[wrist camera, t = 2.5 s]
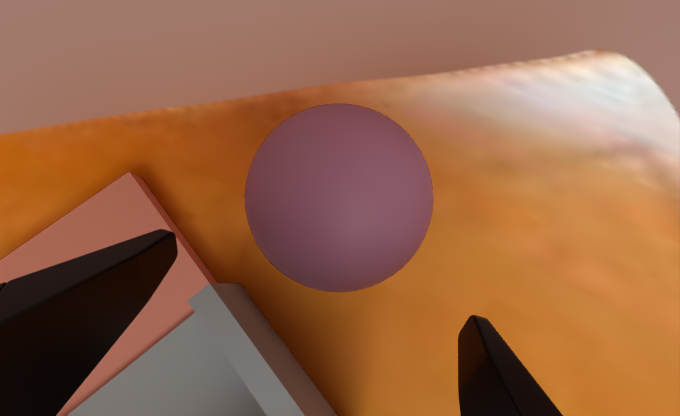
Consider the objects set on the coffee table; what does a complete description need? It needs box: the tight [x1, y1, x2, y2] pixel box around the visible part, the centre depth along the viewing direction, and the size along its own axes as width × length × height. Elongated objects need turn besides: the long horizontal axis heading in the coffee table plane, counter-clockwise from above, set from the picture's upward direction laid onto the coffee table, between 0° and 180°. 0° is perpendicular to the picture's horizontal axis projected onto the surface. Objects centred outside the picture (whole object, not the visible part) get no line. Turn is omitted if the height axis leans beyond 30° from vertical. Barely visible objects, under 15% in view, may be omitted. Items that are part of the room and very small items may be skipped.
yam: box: [245, 104, 433, 292], centre depth 13 cm, size 5×5×13 cm
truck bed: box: [0, 172, 338, 416], centre depth 14 cm, size 14×20×7 cm
